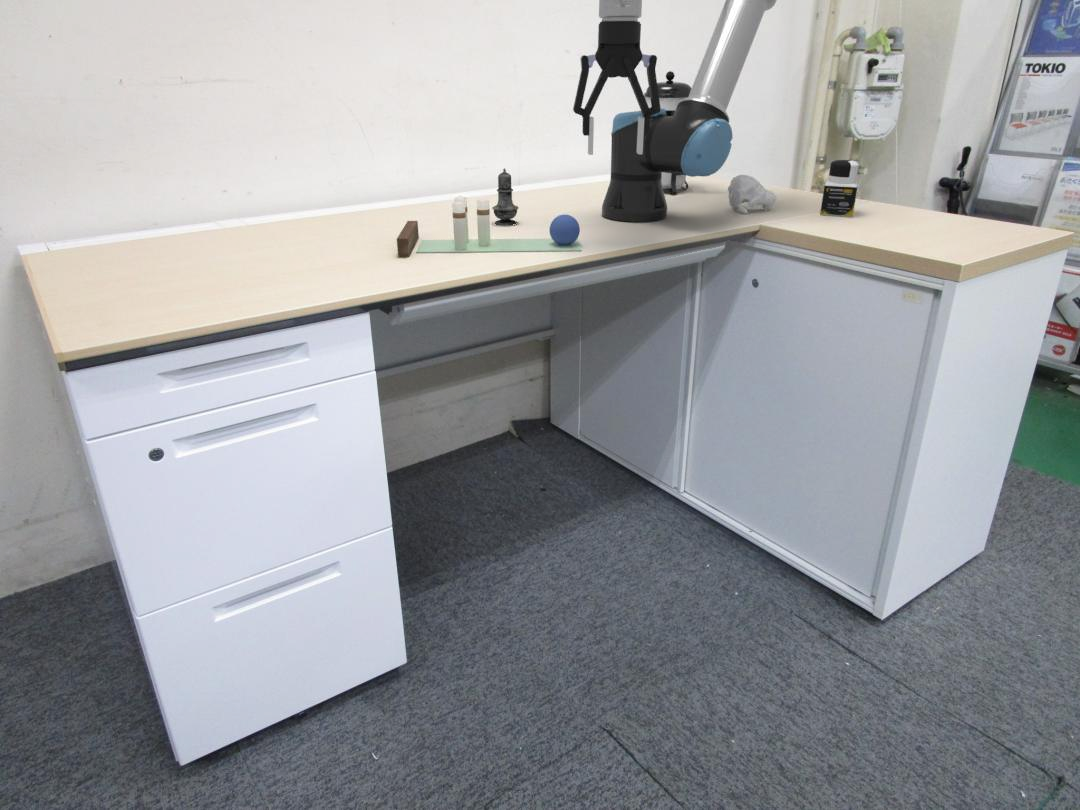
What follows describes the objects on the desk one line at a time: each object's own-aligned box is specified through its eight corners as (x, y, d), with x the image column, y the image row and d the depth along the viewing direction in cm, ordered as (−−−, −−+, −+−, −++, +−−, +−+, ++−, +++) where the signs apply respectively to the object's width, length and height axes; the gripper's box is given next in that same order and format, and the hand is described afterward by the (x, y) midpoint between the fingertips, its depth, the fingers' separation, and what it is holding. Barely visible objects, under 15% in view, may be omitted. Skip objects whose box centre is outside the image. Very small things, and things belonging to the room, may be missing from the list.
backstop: (418, 237, 156) (417, 220, 154) (408, 257, 141) (407, 238, 140) (409, 237, 156) (407, 220, 154) (398, 257, 141) (396, 238, 140)
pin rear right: (469, 241, 152) (467, 196, 149) (468, 244, 150) (466, 198, 146) (457, 241, 152) (454, 196, 148) (456, 244, 150) (453, 199, 146)
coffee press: (647, 197, 196) (654, 72, 184) (628, 187, 211) (633, 70, 198) (708, 194, 200) (720, 71, 187) (686, 184, 214) (695, 70, 201)
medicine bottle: (819, 215, 174) (828, 162, 169) (821, 209, 180) (829, 158, 175) (852, 217, 172) (861, 163, 167) (853, 211, 178) (862, 159, 173)
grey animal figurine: (728, 172, 177) (773, 175, 180) (721, 209, 181) (765, 211, 184) (740, 176, 172) (786, 179, 175) (733, 214, 175) (778, 216, 178)
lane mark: (577, 239, 154) (577, 238, 154) (581, 251, 145) (581, 250, 145) (421, 240, 153) (421, 240, 153) (416, 253, 144) (416, 252, 144)
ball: (578, 241, 152) (578, 211, 150) (580, 248, 147) (581, 217, 144) (548, 241, 152) (548, 211, 149) (550, 248, 147) (550, 218, 144)
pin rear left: (467, 248, 148) (465, 201, 144) (466, 251, 145) (464, 204, 141) (455, 248, 147) (452, 201, 144) (454, 251, 145) (451, 204, 141)
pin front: (490, 244, 150) (489, 198, 146) (490, 247, 148) (489, 201, 144) (478, 244, 150) (476, 198, 146) (477, 247, 148) (476, 201, 144)
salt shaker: (515, 226, 165) (514, 170, 160) (489, 225, 166) (487, 169, 161) (521, 221, 170) (520, 166, 165) (496, 220, 171) (494, 166, 166)
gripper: (560, 19, 129) (559, 156, 138) (684, 19, 129) (674, 155, 139) (558, 21, 135) (557, 151, 145) (676, 20, 136) (667, 150, 146)
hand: (614, 153), depth 142 cm, fingers open, 9 cm apart
